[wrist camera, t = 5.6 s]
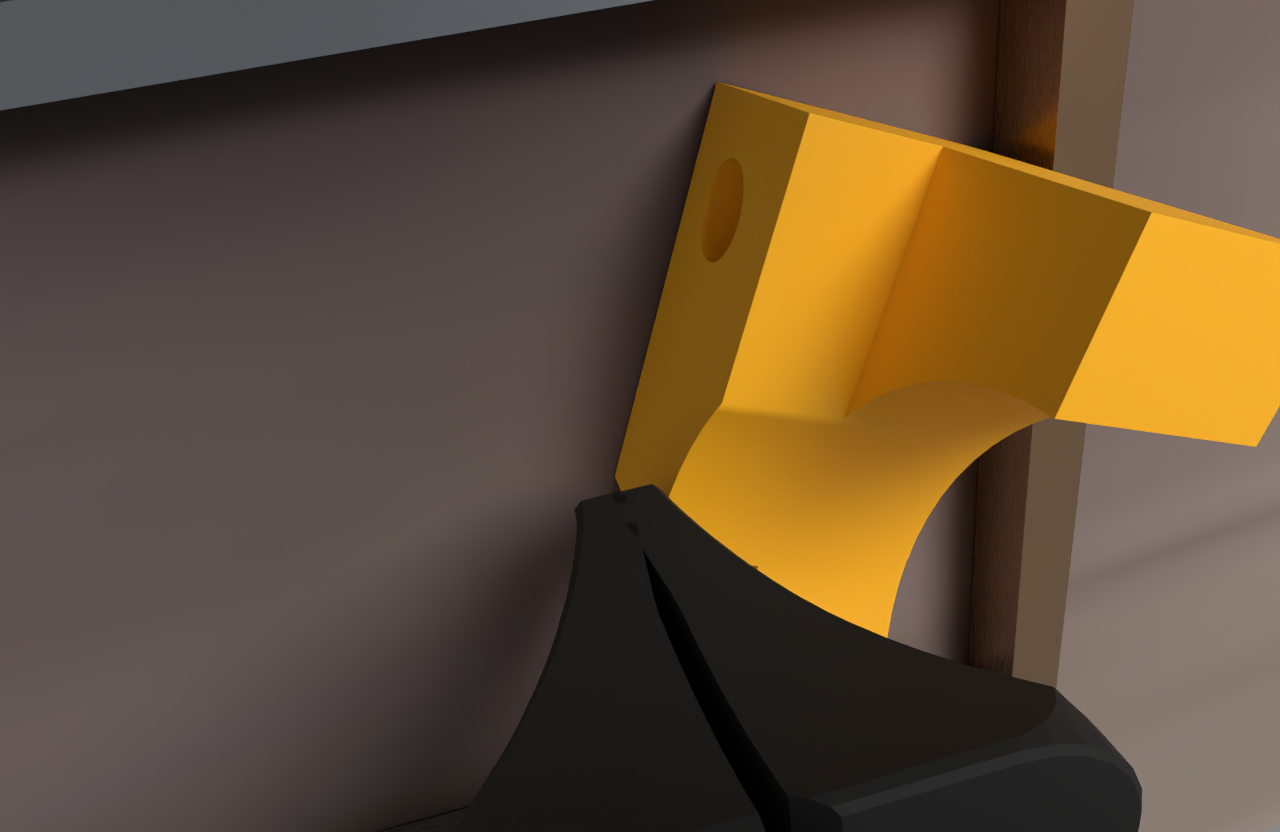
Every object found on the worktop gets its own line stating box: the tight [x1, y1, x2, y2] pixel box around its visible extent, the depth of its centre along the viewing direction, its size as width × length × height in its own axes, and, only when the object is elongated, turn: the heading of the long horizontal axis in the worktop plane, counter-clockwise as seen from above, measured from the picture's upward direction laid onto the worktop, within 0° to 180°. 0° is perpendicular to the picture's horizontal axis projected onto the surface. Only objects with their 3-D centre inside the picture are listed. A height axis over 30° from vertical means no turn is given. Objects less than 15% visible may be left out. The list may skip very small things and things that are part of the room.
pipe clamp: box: [615, 82, 1280, 638], centre depth 13 cm, size 12×4×6 cm, turn 166°
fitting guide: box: [0, 0, 1134, 832], centre depth 14 cm, size 16×17×2 cm
